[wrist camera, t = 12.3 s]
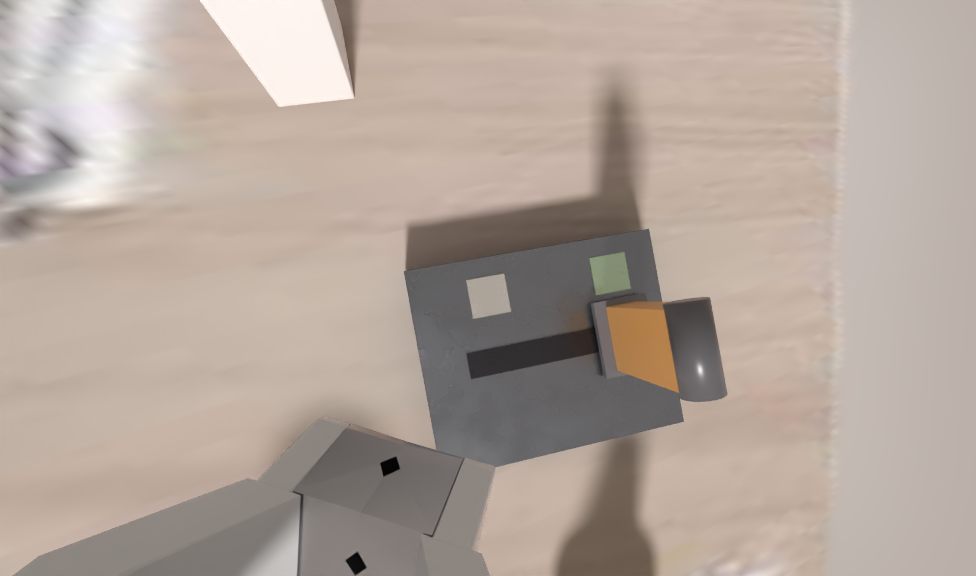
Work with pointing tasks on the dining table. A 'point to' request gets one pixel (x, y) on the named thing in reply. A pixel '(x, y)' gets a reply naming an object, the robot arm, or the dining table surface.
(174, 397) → the dining table surface
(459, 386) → the grey slotted base
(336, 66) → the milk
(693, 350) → the handle
